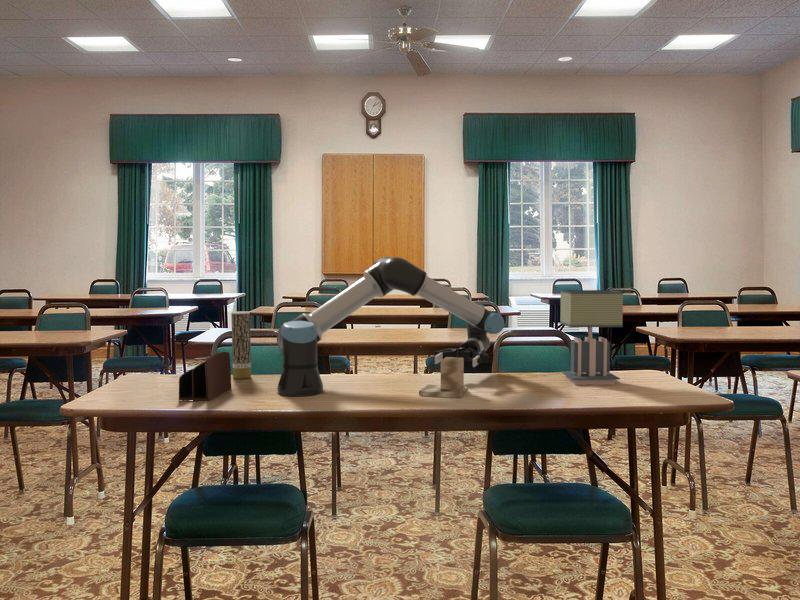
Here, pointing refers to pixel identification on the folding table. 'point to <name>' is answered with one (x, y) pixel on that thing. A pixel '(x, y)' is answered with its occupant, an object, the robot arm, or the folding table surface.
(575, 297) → the desk lamp
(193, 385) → the letter holder
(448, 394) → the board
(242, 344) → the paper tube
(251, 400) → the folding table surface
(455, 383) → the block
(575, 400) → the folding table surface
